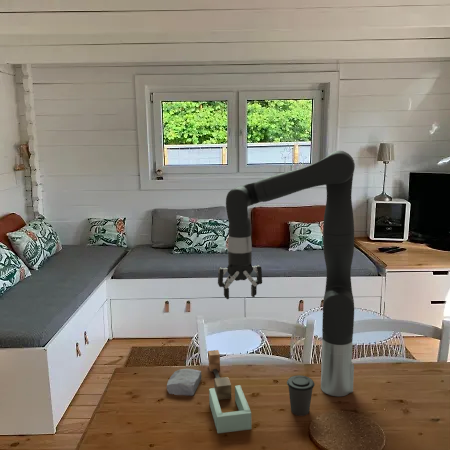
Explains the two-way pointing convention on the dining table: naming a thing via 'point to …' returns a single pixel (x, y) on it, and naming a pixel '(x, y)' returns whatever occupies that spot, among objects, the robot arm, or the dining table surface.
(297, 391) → the coffee cup
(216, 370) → the wooden cube dumbbell
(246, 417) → the channel
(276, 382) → the dining table surface
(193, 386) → the stone block
